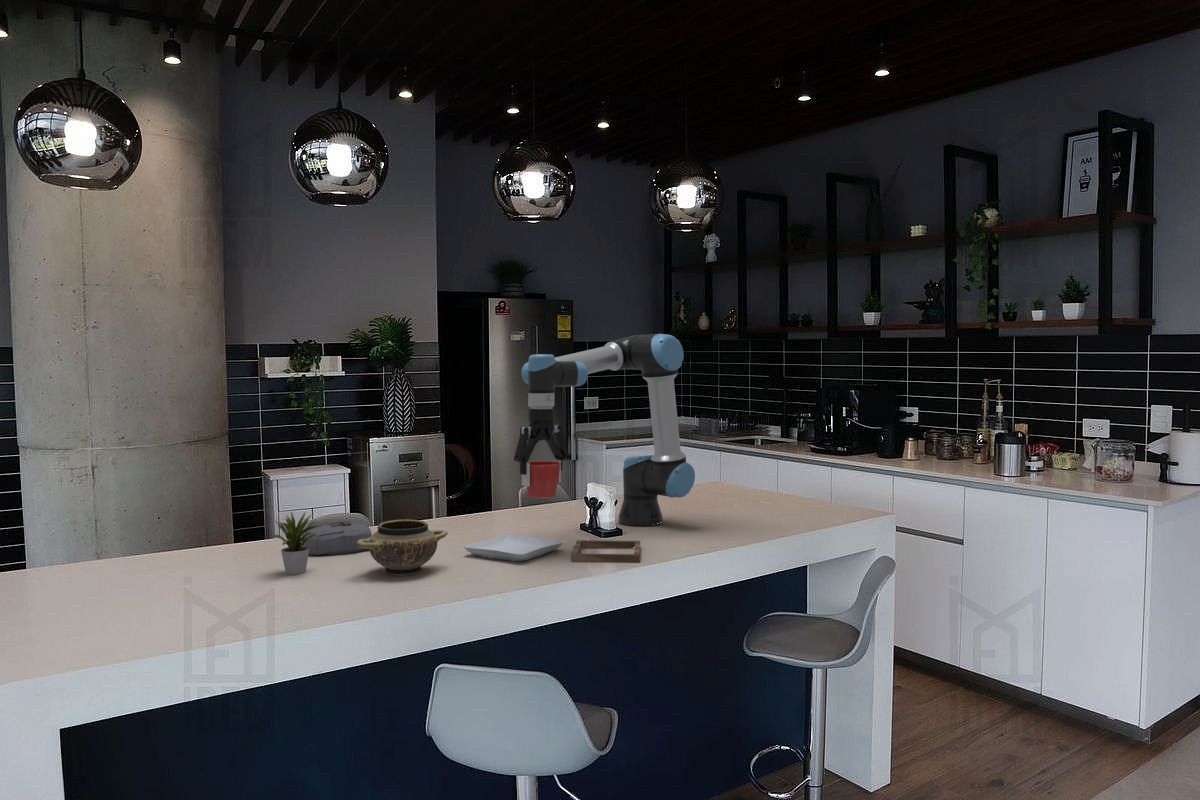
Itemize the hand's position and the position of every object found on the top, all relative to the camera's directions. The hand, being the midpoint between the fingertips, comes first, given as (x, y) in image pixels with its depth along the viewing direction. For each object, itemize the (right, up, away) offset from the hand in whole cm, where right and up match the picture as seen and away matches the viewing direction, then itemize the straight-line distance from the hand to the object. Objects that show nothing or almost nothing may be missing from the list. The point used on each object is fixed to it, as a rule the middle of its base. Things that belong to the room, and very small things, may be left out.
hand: (541, 484), depth 250 cm
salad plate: (-8, -21, +2) cm, 23 cm away
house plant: (-64, -22, -21) cm, 70 cm away
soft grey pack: (-61, -21, +7) cm, 65 cm away
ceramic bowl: (-35, -22, -20) cm, 46 cm away
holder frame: (+19, -20, 0) cm, 28 cm away
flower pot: (0, -4, 0) cm, 4 cm away
